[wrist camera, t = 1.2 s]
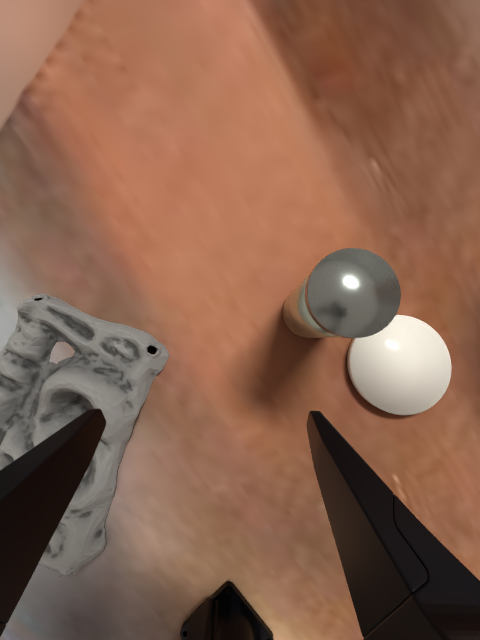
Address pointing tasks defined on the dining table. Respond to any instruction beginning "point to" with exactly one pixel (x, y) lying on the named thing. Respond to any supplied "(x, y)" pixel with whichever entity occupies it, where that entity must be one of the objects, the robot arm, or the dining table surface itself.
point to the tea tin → (344, 297)
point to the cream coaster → (400, 366)
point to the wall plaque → (74, 407)
